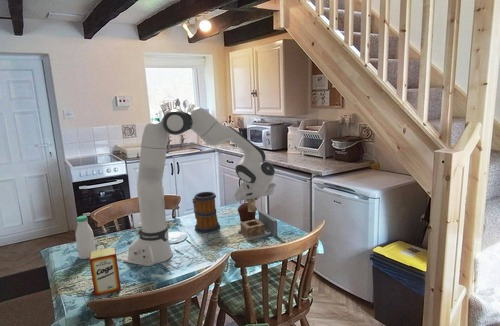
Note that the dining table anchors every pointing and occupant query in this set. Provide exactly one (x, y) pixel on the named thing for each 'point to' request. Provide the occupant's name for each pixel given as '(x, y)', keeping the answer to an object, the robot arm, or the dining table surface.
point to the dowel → (251, 205)
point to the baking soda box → (104, 271)
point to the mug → (205, 213)
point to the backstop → (269, 226)
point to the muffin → (245, 213)
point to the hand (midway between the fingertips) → (250, 199)
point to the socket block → (252, 228)
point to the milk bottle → (84, 238)
